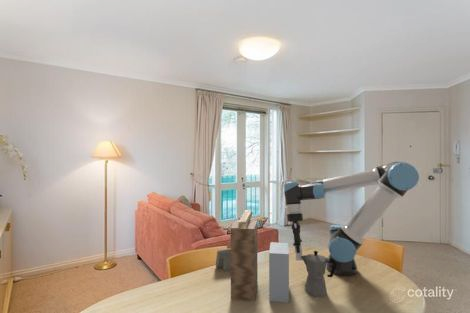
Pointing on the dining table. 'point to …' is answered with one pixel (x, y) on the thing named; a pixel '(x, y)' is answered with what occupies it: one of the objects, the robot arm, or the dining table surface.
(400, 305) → the dining table surface
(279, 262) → the white rectangular block
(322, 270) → the coffeepot
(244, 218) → the beech bar
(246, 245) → the walnut plinth
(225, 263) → the digital clock
